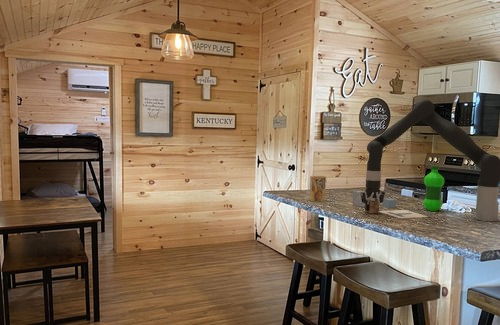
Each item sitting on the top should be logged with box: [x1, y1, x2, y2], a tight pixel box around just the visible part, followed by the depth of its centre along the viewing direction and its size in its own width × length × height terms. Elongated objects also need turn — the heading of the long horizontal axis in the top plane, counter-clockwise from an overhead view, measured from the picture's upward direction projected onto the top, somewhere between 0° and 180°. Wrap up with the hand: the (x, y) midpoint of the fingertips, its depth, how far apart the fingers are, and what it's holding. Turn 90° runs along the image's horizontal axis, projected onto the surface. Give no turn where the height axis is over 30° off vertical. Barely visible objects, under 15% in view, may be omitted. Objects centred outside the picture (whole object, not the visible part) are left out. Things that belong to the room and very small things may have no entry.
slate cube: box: [382, 198, 397, 209], centre depth 240 cm, size 5×5×5 cm
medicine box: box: [352, 190, 367, 208], centre depth 243 cm, size 8×4×9 cm, turn 47°
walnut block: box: [364, 199, 380, 214], centre depth 221 cm, size 5×5×6 cm
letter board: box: [379, 209, 429, 219], centre depth 220 cm, size 18×18×1 cm
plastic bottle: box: [422, 165, 445, 212], centre depth 235 cm, size 10×10×25 cm
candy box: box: [309, 175, 327, 202], centre depth 259 cm, size 9×4×15 cm, turn 103°
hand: (371, 210), depth 221 cm, fingers open, 5 cm apart
